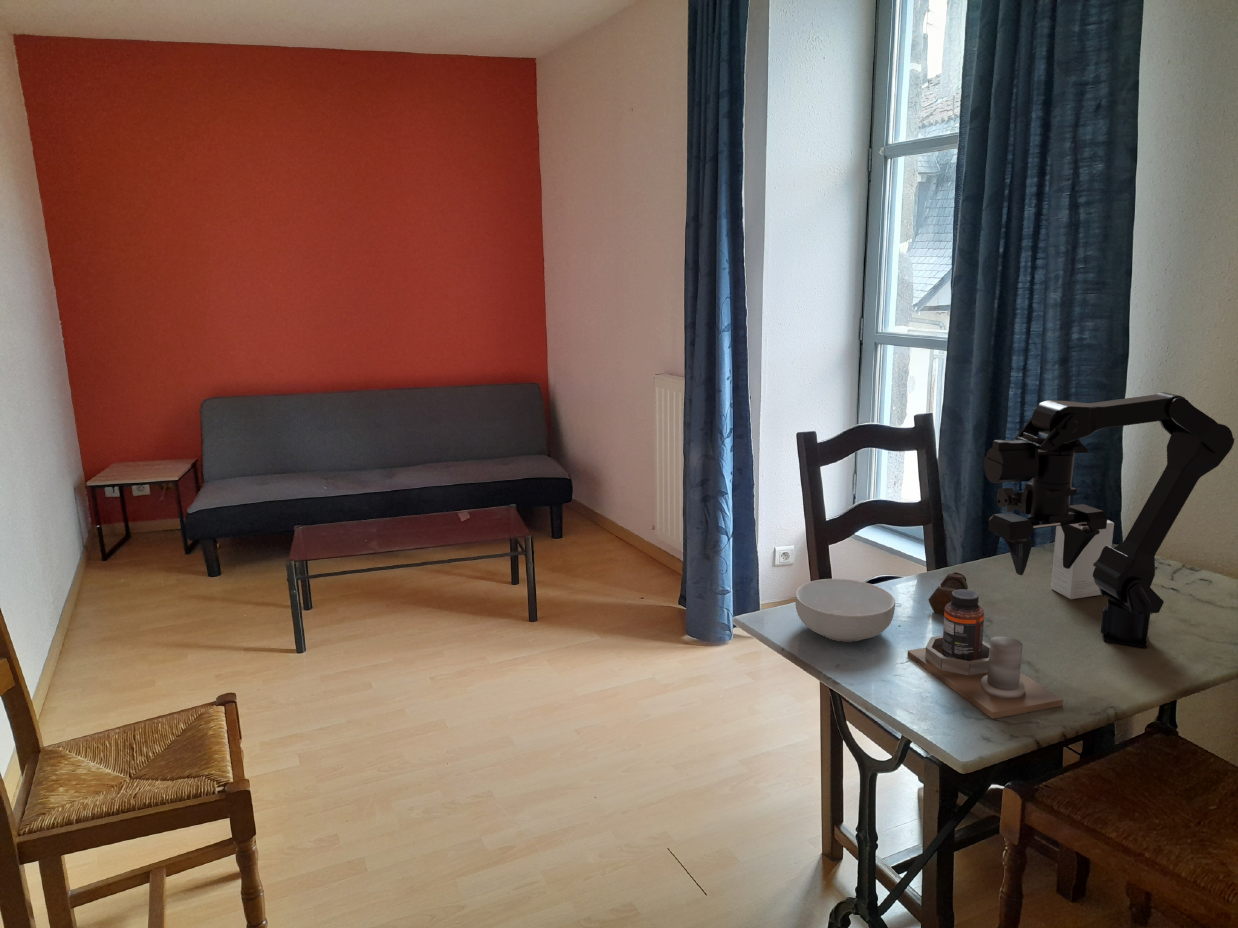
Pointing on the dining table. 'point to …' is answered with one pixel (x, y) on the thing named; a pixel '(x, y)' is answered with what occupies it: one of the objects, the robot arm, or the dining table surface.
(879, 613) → the cereal bowl
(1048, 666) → the dining table surface
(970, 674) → the pin board
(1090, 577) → the skincare box
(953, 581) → the bolt
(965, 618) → the supplement bottle
